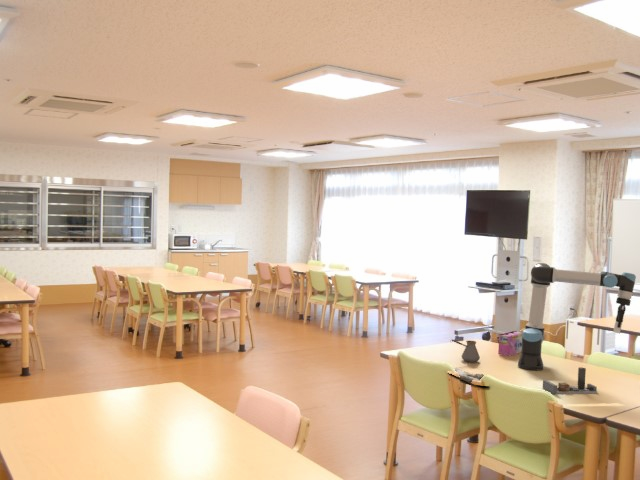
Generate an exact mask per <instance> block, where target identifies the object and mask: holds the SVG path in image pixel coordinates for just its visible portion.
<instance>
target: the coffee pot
mask: <svg viewBox="0 0 640 480" xmlns="http://www.w3.org/2000/svg"><path fill="white" fill-rule="evenodd" d="M451 341H452V342H453V343H456V344H458V345H461V346H462V347H465V348H464V350H463V352H462V355H461V359H462V360H463V361H464V362H465V363H469V364H470V363H471V364H475V363H478V362H479V360H480V358H481V357H480V355H479V352H478V349H477V345H476V344H477V341H475V340H466V344H463V343H462V342H460V341H457V340H456V339H451V340H450V341H449V342H450V343H452V342H451Z"/></svg>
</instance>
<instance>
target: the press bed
mask: <svg viewBox="0 0 640 480" xmlns="http://www.w3.org/2000/svg"><path fill="white" fill-rule="evenodd" d="M585 388H586V389H588V390H589V391H571V390H569V391H559V390H558V387H557V394H552V395H599V392H598V390H597V386H596V385H593V384H592V383H586V386H585Z"/></svg>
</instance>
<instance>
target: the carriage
mask: <svg viewBox="0 0 640 480" xmlns="http://www.w3.org/2000/svg"><path fill="white" fill-rule="evenodd" d="M577 370H578V371H577V386H576V385H570V387H569V390H571V391H589V390H588V389H586V388H585V387H586V370H587V369H586V367H582V366H581V367H579V366H578V368H577Z"/></svg>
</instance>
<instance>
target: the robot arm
mask: <svg viewBox="0 0 640 480" xmlns="http://www.w3.org/2000/svg"><path fill="white" fill-rule="evenodd" d="M530 276H531V277H530V284H531V285H532V291H531V297H530V298H531V299H530V306H529V307H530V309H529V314H528V315H529V316H528V322H527V323H526V324H525V328H524V329H523V330H522V332H521V333H522V351H521V354H520V356H519V359H518V361H517V367H518V368H520V369H523V370H528V371H529V370H530V371H542V370H544V361H543V358H542V345H543V342H544V340H545V328H546V327H545V326H544V323H543V322H544V315H545V314H544V313H545V306H546V299H547V292H548V290H547V289H548V287H550V286H551V284H554V283H556V282H557V283H565V284H566V283H567V284H577V285H585V286H586V285H588V286H597V287H604V288H605V287H606V288H610V289H611V288H614V287H617V288H618V292H617V297H616V301H615V304H619V306H618V307H617V312H616V313H617V314H616V318H615V322H614V326H613V332H614V333H615V334H620V333H621V330H622V325H623V322H624V316H625V312H626V310H627V309H626V306H628V307H629V306H631V305H630V304H631V302H632V301H631V300H632V296H634V293H633V291H634V287H635V283H636V277H637V276H636V275H635V273H630V272H626V271H625V272H622V273H621V274H618V273H613V272H608V271H603V270H602V271H601V272H600V273H599V272H587V271H580V270H579V271H577V270H568V269H559V268H558V269H557V268H556V267H554V266H553V267H551V266H550V265H549V264H547V263H544V262H539V263H536V264H535V265H534V266H533V267H532V268H531V269H530Z"/></svg>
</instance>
